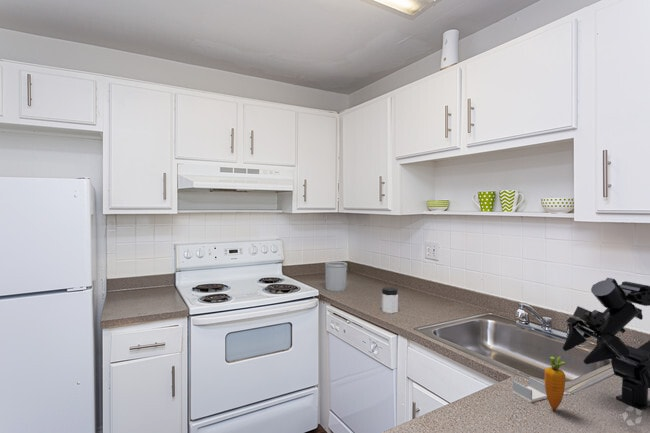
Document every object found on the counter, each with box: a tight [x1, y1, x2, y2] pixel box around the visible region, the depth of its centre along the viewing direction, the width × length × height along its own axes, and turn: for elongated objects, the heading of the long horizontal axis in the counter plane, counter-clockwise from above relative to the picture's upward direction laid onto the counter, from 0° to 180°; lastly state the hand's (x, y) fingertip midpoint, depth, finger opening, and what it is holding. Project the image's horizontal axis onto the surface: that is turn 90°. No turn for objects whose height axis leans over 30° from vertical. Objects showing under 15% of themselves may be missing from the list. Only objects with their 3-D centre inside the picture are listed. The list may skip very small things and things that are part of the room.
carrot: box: [544, 356, 566, 411], centre depth 100 cm, size 5×5×15 cm
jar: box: [381, 286, 399, 314], centre depth 195 cm, size 9×8×12 cm
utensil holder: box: [324, 261, 348, 292], centre depth 246 cm, size 15×15×18 cm
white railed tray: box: [512, 376, 548, 403], centre depth 108 cm, size 7×6×4 cm
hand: (573, 356), depth 104 cm, fingers open, 9 cm apart
